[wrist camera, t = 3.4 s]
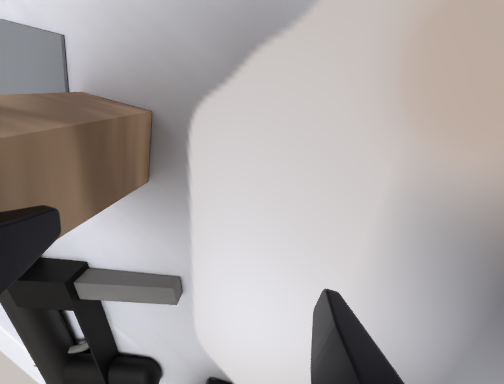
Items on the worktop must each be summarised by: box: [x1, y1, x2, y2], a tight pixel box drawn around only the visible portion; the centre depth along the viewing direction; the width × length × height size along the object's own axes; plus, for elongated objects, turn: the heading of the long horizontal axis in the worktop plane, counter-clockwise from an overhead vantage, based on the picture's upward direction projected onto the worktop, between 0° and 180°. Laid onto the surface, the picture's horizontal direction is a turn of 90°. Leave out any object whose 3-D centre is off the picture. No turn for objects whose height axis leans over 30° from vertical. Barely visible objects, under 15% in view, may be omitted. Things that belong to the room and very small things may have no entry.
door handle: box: [0, 257, 182, 384], centre depth 21 cm, size 3×20×16 cm
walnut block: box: [0, 92, 152, 239], centre depth 11 cm, size 4×4×11 cm
